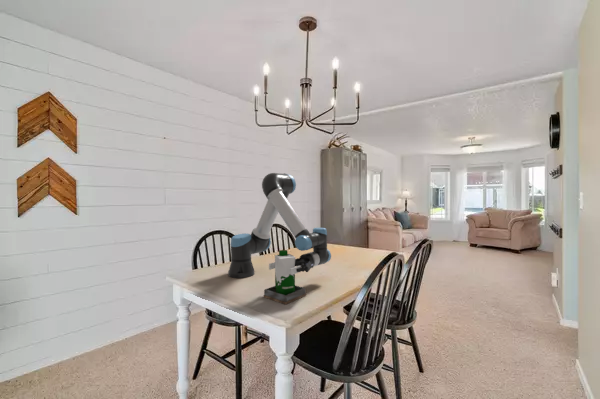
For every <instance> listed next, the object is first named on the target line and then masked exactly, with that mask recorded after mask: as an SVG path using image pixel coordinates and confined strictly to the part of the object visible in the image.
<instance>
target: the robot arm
mask: <svg viewBox="0 0 600 399" xmlns="http://www.w3.org/2000/svg"><path fill="white" fill-rule="evenodd" d="M296 187H297V183H296V180H295V178H294V176H292V174H288V173H280V172H279V173H277V172H270V173H268V174H266V175H265V176H264V178H263V179H262V182H261V189H262V191H263V194H264V197H266V199H267V201H266V204H265V206H264V209H263V211H262V214H261V216H260V218H259V221H258V222H257V225H256V227H254V228H253V229H252V231H251V233H238V234H235V235H233V236H232V237H231V238H230V265H229V269H228V272H227V273H228V277H230V278H234V279H235V278H236V279H241V278H243V279H244V278H250V277H252V276H254V275H255V268H254V266H253V265H254V264H253V261H252V255H255V254H260V253H263V252H266V251H267V250H269V248H270V247H271V244H272V241H271V234H270V233H271V230H272V227H273V225H274V223H275V221H276V219H277V216H278V214H279V215H280V217H281V218H282V221H284V223H285V225H286V226H287V227H288V230H290V232H291V235H293V237H294V238H295V240H294V245H295V248H296V249H297V250H298V251H300V252H304V251H308V250H311V249H312V250H313V251H310V252H307V253H303V254H301V255H300V256H299V258H295V267H294V268H290V275H293V274H295V275H296V274H299V273H301V272H303V273H304V272H306V273H308V272H309V271H310V270H312V269H313V268H314V267H316V266H320V265H323V264H326V263H329V262H330V261H331V260H332V254H331V251H330V249H328V231H327V228H325V227H314V228H313V229H312V232H311V233H310V231H309V229H308V228H307V227H306V225H305V224H304V222H303V221H302V219H301V218H300V216H299V215H298V213H297V212H296V211H295V209H294V208H293V206H292V204H291V203H290V201H289V200H288V198H289V195H290V194H292V193H294V192H295V190H296V189H297V188H296ZM268 270H270V271H271V270H275V261H273V262H270V263H268Z"/></svg>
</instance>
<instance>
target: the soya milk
mask: <svg viewBox="0 0 600 399" xmlns="http://www.w3.org/2000/svg"><path fill="white" fill-rule="evenodd" d="M288 252H289V251H288V250H287V249H281V250H279V251H278V254H275V255H274V262H275V268H274V274H275V275H274V283H275V285H274V286H275V287H276V293H279V294H283V295H288V294H290V293H293V292H295V286H296V274H293V275H290V268H294V267H296V266H295V259H296V256H294V255H292V254H290V253H288Z"/></svg>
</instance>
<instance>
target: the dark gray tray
mask: <svg viewBox="0 0 600 399" xmlns="http://www.w3.org/2000/svg"><path fill="white" fill-rule="evenodd" d="M306 291H307V290H306V288H305V287H302V286H298V285H295V292H293V293H290V294H288V295H283V294H279V293H276V287H275V285H274V286H271V287H268V288H265V289H264V291H263V298H265V299H267V300H271V301H274V302H276V303H281V304H282V305H287V304H290V303H292V302H294V301H298V300H299V299H301V298H304V297H306V296H307V293H306Z"/></svg>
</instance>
